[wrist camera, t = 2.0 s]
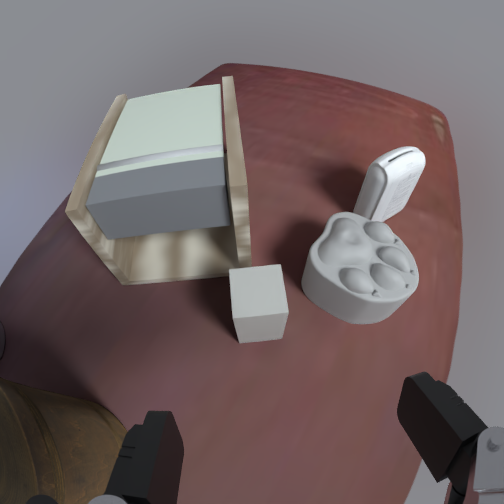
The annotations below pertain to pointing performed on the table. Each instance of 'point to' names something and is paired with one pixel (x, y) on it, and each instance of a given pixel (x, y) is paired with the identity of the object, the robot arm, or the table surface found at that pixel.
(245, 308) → the smooth white block
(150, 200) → the trapdoor
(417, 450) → the robot arm
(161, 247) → the storage box
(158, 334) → the table surface
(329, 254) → the lumpy-topped squat cylinder
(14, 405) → the wooden container
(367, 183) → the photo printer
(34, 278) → the table surface
